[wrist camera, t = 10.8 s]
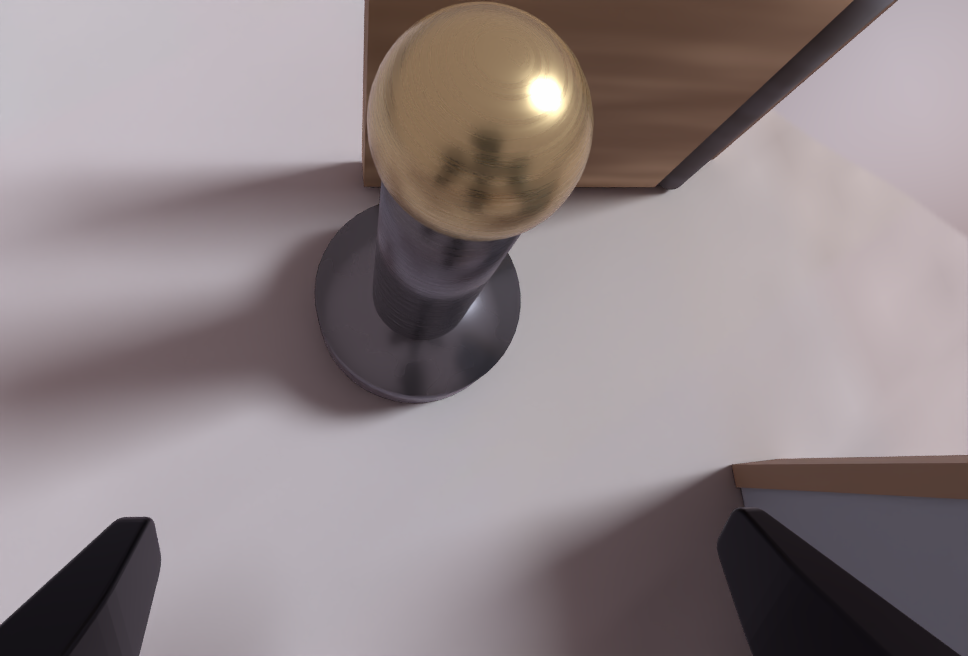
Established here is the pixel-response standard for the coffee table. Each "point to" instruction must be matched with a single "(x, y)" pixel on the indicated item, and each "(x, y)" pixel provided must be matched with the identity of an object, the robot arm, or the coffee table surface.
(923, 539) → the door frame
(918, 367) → the coffee table surface
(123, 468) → the coffee table surface
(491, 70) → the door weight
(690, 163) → the door
